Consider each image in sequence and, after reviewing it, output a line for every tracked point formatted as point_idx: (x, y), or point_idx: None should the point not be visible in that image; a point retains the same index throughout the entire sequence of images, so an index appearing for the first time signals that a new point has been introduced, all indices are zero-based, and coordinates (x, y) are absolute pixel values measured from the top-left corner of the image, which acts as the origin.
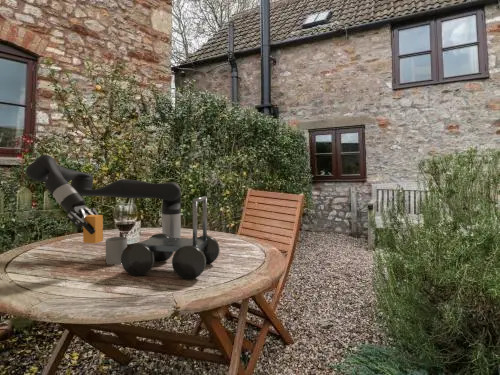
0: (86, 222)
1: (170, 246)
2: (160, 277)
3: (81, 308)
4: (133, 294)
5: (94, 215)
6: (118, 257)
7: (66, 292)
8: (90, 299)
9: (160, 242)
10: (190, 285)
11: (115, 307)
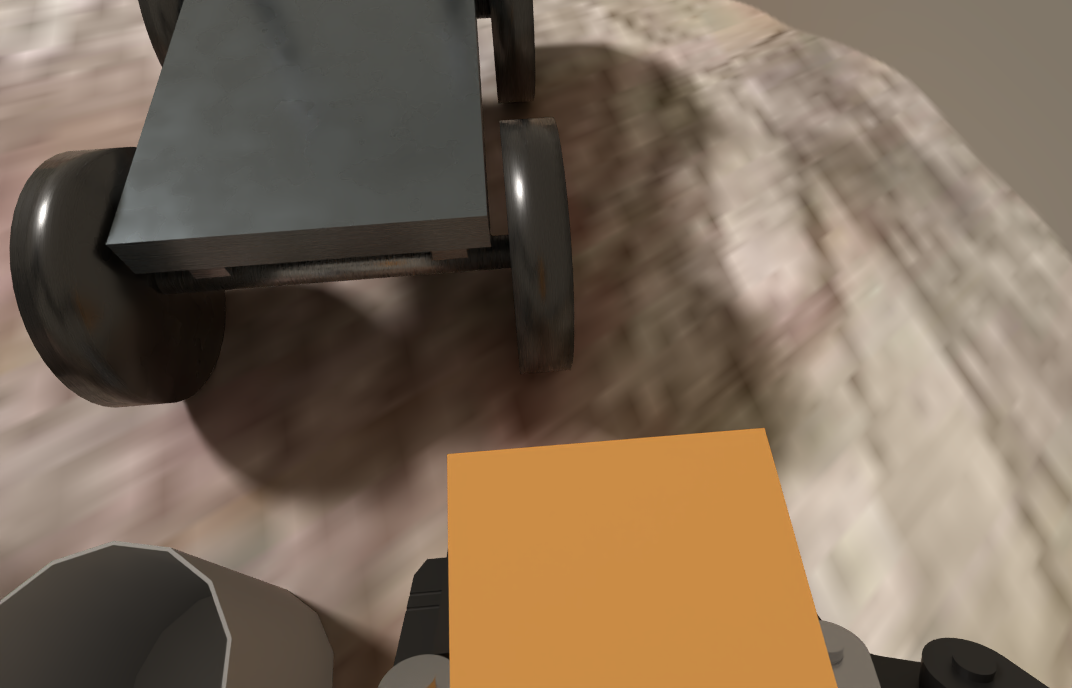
0: (854, 636)
1: (474, 5)
2: None
3: (1049, 282)
4: (797, 185)
5: (588, 624)
6: (290, 604)
7: (979, 519)
8: (957, 316)
9: (363, 96)
10: (596, 51)
11: (947, 173)
